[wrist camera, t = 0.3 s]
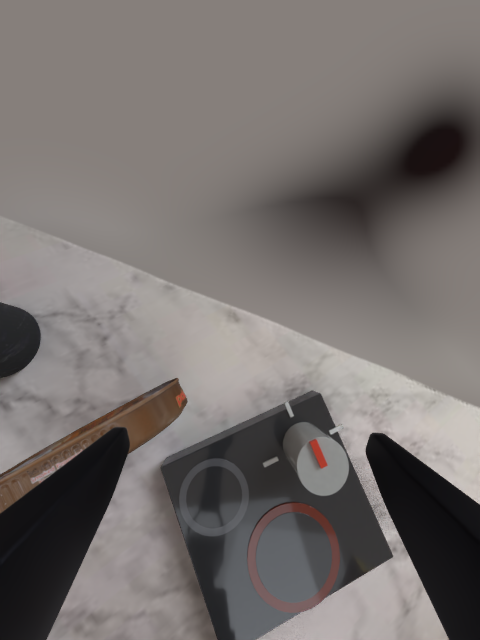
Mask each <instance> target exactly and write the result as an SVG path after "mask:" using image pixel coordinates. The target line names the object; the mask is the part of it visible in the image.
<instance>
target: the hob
mask: <svg viewBox="0 0 480 640" xmlns="http://www.w3.org/2000/svg"><path fill="white" fill-rule="evenodd" d="M300 422H307V423H311V424H313V425H315V426H316V427H317V428H319V429H320V430H321V431H323V432H324V433H325V434H327V435H328V436H329V437H331V438H332V439H333V440H335V441H336V442H337V443H338V444H340V445H341V447H342V448H343V449H344V451H345V453H346V455H347V458H348V463H349V473H348V477H347V480H346V482H345V484H344V485H343V486H342V488H341V489H340V490H338V491H337V492H336V493H334V494H331V495H327V496H320V495H316V494H314V493H312V492H310V491H309V490H307V489H306V488H305V487H304V485H303V484H302V483H301V481H300V479H299V478H298V476H297V475H296V473H295V471H294V470H293V468H292V466H291V465H290V463H289V462H288V460H287V458H286V457H285V454H284V451H283V439H284V436H285V434H286V432H287V431H288V429H289V428H290V427H291V426H293V425H294V424H297V423H300ZM341 429H343V425H342V424H341V425H339V426H337V427H335V425H334V422H333V420H332V418H331V416H330V413H329V411H328V409H327V407H326V404H325V402H324V400H323V398H322V395H321V394H320V393H318V392H315V391H310V392H308V393H306V394H304V395H302V396H299V397H297V398H295V399H293V400H291V401H289V402H288V401H287V402H285V403H284V404H282V405H280V406H278V407H276V408H273V409H271V410H269V411H267V412H265V413H263V414H260V415H258V416H256V417H254V418H252V419H249V420H247V421H245V422H243V423H241V424H239V425H236V426H234V427H232V428H230V429H228V430H226V431H223V432H221V433H219V434H217V435H215V436H213V437H210V438H208V439H206V440H204V441H202V442H200V443H197V444H195V445H193V446H191V447H189V448H187V449H184V450H182V451H180V452H178V453H176V454H173V455H171V456H169V457H167V458H166V459H165V461H164V463H163V465H162V466H161V471H162V474H163V477H164V480H165V483H166V486H167V489H168V492H169V495H170V498H171V501H172V504H173V507H174V510H175V513H176V516H177V519H178V522H179V525H180V528H181V531H182V534H183V537H184V540H185V543H186V546H187V549H188V552H189V555H190V558H191V561H192V564H193V567H194V570H195V573H196V576H197V579H198V582H199V585H200V588H201V591H202V594H203V597H204V600H205V603H206V606H207V609H208V612H209V615H210V618H211V621H212V624H213V627H214V630H215V633H216V636H217V639H218V640H256V639H258V638H259V637H261V636H263V635H264V634H266V633H268V632H269V631H271V630H273V629H274V628H276V627H278V626H279V625H281V624H283V623H284V622H286V621H288V620H289V619H291V618H293V617H294V616H296V615H298V614H299V613H301V612H298V613H288V612H283V611H280V610H277V609H275V608H273V607H272V606H270V605H269V604H267V603H266V602H265V601H264V600H263V599H262V598H261V597H260V595H259V594H258V593H257V591H256V589H255V588H254V586H253V583H252V581H251V578H250V575H249V570H248V563H247V552H248V545H249V541H250V537H251V535H252V532H253V530H254V528H255V526H256V525H257V523H258V522H259V520H260V519H261V518H262V517H263V516H264V515H265V514H266V513H267V512H268V511H269V510H271V509H272V508H274V507H276V506H278V505H280V504H284V503H290V502H299V503H304V504H307V505H310V506H311V507H313V508H315V509H317V510H318V511H319V512H321V513H322V514H323V515H324V516H325V517H326V519H327V520H328V521H329V523H330V524H331V526H332V528H333V530H334V532H335V534H336V537H337V540H338V544H339V551H340V563H339V570H338V575H337V578H336V581H335V583H334V585H333V587H332V589H331V590H330V592H329V594H328V595H327V596H329V595H331V594H332V593H334V592H336V591H337V590H339V589H341V588H342V587H344V586H346V585H347V584H349V583H351V582H352V581H354V580H356V579H357V578H359V577H361V576H362V575H364V574H366V573H367V572H369V571H371V570H372V569H374V568H376V567H377V566H379V565H381V564H382V563H384V562H386V561H387V560H389V559H391V558H392V557H393V555H392V552H391V550H390V548H389V546H388V543H387V541H386V539H385V537H384V534H383V532H382V530H381V528H380V525H379V523H378V521H377V519H376V517H375V514H374V512H373V510H372V508H371V505H370V503H369V501H368V499H367V496H366V494H365V492H364V490H363V487H362V485H361V483H360V481H359V478H358V476H357V474H356V472H355V469H354V467H353V465H352V463H351V460H350V458H349V456H348V454H347V451H346V449H345V447H344V445H343V442H342V440H341V438H340V436H339V433H338V431H339V430H341ZM212 458H220V459H225V460H228V461H230V462H232V463H233V464H235V465H236V466H237V467H238V468H239V469H240V470H241V471H242V473H243V475H244V476H245V478H246V481H247V484H248V489H249V501H248V506H247V510H246V512H245V515H244V516H243V518H242V520H241V521H240V522H239V524H238V525H237V526H236V527H235V528H233V529H232V530H231V531H229V532H228V533H225V534H223V535H220V536H204V535H201V534H199V533H197V532H195V531H194V530H193V529H191V528H190V527H189V526H188V524H187V523H186V522H185V520H184V518H183V516H182V514H181V510H180V505H179V494H180V489H181V486H182V483H183V481H184V479H185V477H186V475H187V474H188V472H189V471H190V470H191V469H192V468H193V467H194V466H196V465H197V464H198V463H200V462H202V461H204V460H207V459H212ZM327 596H326V597H327ZM326 597H325V598H326Z"/></svg>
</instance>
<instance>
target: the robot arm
mask: <svg viewBox="0 0 480 640" xmlns="http://www.w3.org/2000/svg"><path fill="white" fill-rule="evenodd" d="M129 448H130V441H129V436H128V431H127V428H126V427H114V428H112V429H111V430H109V431H108V432H107V433H105V434H104V435H103V436H102V437H100V438H99V439H98V440H96V441H95V442H94V443H92V444H91V445H90V446H88V447H87V448H86V449H84V450H83V451H82V452H80V453H79V454H78V455H76V456H75V457H74V458H73V459H71V460H70V461H69V462H67V463H66V464H65V465H63V466H62V467H61V468H59V469H58V470H57V471H55V472H54V473H53V474H51V475H50V476H49V477H48V478H46V479H45V480H44V481H42V482H41V483H40V484H38V485H37V486H36V487H34V488H33V489H32V490H30V491H29V492H28V493H26V494H25V495H24V496H23V497H21V498H20V499H19V500H17V501H16V502H15V503H13V504H12V505H11V506H9V507H8V508H7V509H5V510H4V511H3V512H1V513H0V640H46V639H47V637H48V635H49V633H50V631H51V629H52V626H53V624H54V622H55V620H56V618H57V616H58V613H59V611H60V609H61V607H62V605H63V603H64V600H65V598H66V596H67V594H68V592H69V590H70V587H71V585H72V583H73V581H74V579H75V577H76V574H77V572H78V570H79V568H80V566H81V564H82V561H83V559H84V557H85V555H86V553H87V551H88V549H89V546H90V544H91V542H92V540H93V538H94V536H95V533H96V531H97V529H98V527H99V525H100V523H101V520H102V518H103V516H104V514H105V512H106V510H107V507H108V505H109V503H110V501H111V498H112V496H113V493H114V491H115V488H116V485H117V482H118V480H119V477H120V474H121V471H122V468H123V466H124V463H125V460H126V457H127V454H128V452H129ZM366 456H367V458H368V461H369V464H370V466H371V469H372V472H373V474H374V477H375V480H376V482H377V485H378V488H379V490H380V493H381V496H382V498H383V501H384V503H385V505H386V507H387V510H388V512H389V514H390V516H391V518H392V520H393V522H394V525H395V527H396V529H397V531H398V533H399V535H400V537H401V539H402V541H403V543H404V546H405V548H406V550H407V552H408V554H409V556H410V558H411V560H412V562H413V564H414V567H415V569H416V571H417V573H418V575H419V577H420V579H421V581H422V583H423V586H424V588H425V590H426V592H427V594H428V596H429V598H430V600H431V602H432V604H433V607H434V609H435V611H436V613H437V615H438V617H439V619H440V621H441V623H442V625H443V628H444V630H445V632H446V634H447V636H448V638H449V640H480V505H479V504H478V503H477V502H475V501H474V500H473V499H471V498H470V497H469V496H467V495H466V494H465V493H463V492H462V491H461V490H459V489H458V488H456V487H455V486H454V485H452V484H451V483H450V482H448V481H447V480H446V479H444V478H443V477H442V476H440V475H439V474H438V473H436V472H435V471H434V470H432V469H431V468H430V467H428V466H427V465H425V464H424V463H423V462H421V461H420V460H419V459H417V458H416V457H415V456H413V455H412V454H411V453H409V452H408V451H407V450H405V449H404V448H403V447H401V446H400V445H399V444H397V443H396V442H394V441H393V440H392V439H390V438H389V437H388V436H386V435H385V434H383V433H372V434H371V435H370V437H369V440H368V443H367V446H366Z"/></svg>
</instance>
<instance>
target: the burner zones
mask: <svg viewBox="0 0 480 640" xmlns="http://www.w3.org/2000/svg"><path fill="white" fill-rule="evenodd" d="M248 501H249V489H248V484H247V481H246V478H245V476H244V475H243V473H242V471H241V470H240V469H239V468H238V467H237V466H236V465H235V464H233V463H232V462H230V461H228V460H225V459H220V458H212V459H207V460H204V461H202V462H200V463H198V464H197V465H196V466H194V467H193V468H192V469H191V470H190V471H189V472H188V474H187V475H186V477H185V479H184V481H183V483H182V486H181V489H180V494H179V505H180V510H181V514H182V516H183V518H184V520H185V522H186V523H187V524H188V526H189V527H190V528H191V529H193V530H194V531H195V532H197V533H199V534H201V535H204V536H220V535H223V534H225V533H228V532H229V531H231V530H232V529H233V528H235V527H236V526H237V525H238V524H239V522H240V521H241V520H242V518H243V516H244V515H245V512H246V510H247V506H248ZM247 563H248V570H249V575H250V578H251V581H252V583H253V586H254V588H255V589H256V591H257V593H258V594H259V595H260V597H261V598H262V599H263V600H264V601H265V602H266V603H267V604H269V605H270V606H272V607H273V608H275V609H277V610H280V611H283V612H288V613H298V612H303V611H306V610H309V609H311V608H313V607H315V606H316V605H318V604H319V603H320V602H321V601H322V600H323V599H324V598H325V597H326V596H327V595H328V594H329V592H330V590H331V589H332V587H333V585H334V583H335V581H336V578H337V575H338V570H339V563H340V551H339V544H338V540H337V537H336V534H335V532H334V530H333V528H332V526H331V524H330V523H329V521H328V520H327V519H326V517H325V516H324V515H323V514H322V513H321V512H319V511H318V510H317V509H315V508H313V507H311V506H310V505H307V504H304V503H299V502H290V503H284V504H280V505H278V506H276V507H274V508H272V509H271V510H269V511H268V512H267V513H266V514H265V515H264V516H263V517H262V518H261V519H260V520H259V522H258V523H257V525H256V526H255V528H254V530H253V532H252V535H251V537H250V541H249V545H248V552H247Z"/></svg>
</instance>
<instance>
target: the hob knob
mask: <svg viewBox="0 0 480 640" xmlns="http://www.w3.org/2000/svg"><path fill="white" fill-rule="evenodd" d="M283 451H284V454H285V457H286V458H287V460H288V462H289V463H290V465H291V466H292V468H293V470H294V471H295V473H296V475H297V476H298V478H299V479H300V481H301V483H302V484H303V485H304V487H305V488H306V489H307V490H309V491H310V492H312V493H314V494H316V495H320V496H327V495H331V494H334V493H336V492H337V491H338V490H340V489H341V488H342V486H343V485H344V484H345V482H346V480H347V477H348V473H349V463H348V458H347V455H346V453H345V451H344V449H343V448H342V447H341V445H340V444H338V443H337V442H336V441H335V440H333V439H332V438H331V437H329V436H328V435H327V434H325V433H324V432H323V431H321V430H320V429H319V428H317V427H316V426H315V425H313V424H311V423H307V422H300V423H297V424H294V425H293V426H291V427H290V428H289V429H288V431H287V432H286V434H285V436H284V439H283Z"/></svg>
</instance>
